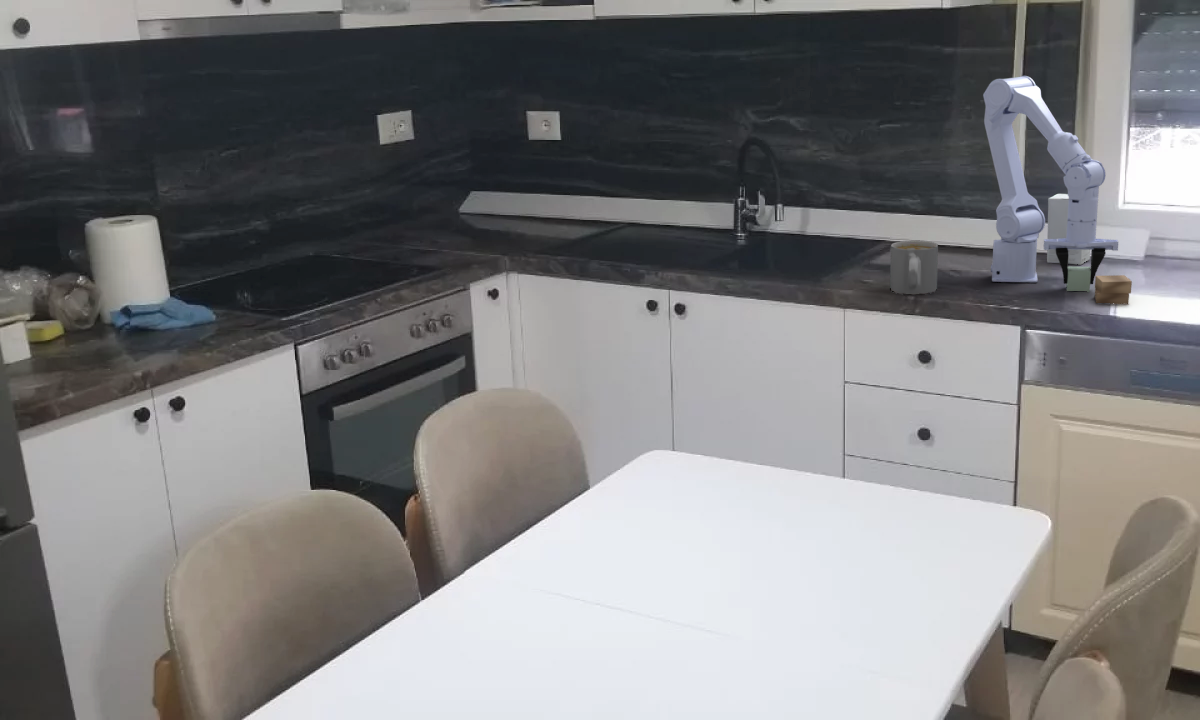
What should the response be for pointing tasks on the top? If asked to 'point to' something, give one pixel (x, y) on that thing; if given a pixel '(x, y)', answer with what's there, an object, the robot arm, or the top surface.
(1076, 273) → the block
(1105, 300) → the tower base
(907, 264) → the coffee mug
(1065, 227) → the skincare box
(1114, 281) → the tower top
